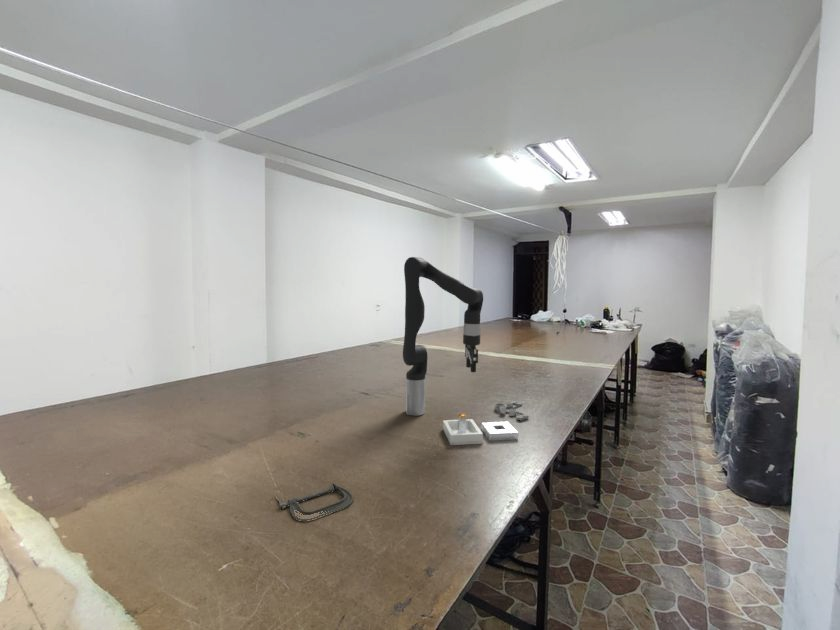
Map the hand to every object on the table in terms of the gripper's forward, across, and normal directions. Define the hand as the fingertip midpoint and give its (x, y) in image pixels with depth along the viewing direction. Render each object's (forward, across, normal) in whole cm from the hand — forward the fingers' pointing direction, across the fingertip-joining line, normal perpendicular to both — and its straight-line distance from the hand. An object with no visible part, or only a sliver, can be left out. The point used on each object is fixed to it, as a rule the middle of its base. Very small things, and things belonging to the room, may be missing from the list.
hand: (470, 369), depth 167 cm
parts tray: (+25, +12, -6) cm, 29 cm away
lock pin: (+24, +12, -6) cm, 28 cm away
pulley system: (+26, -15, +24) cm, 39 cm away
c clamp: (+26, +54, -59) cm, 84 cm away
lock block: (+25, +12, +10) cm, 29 cm away
